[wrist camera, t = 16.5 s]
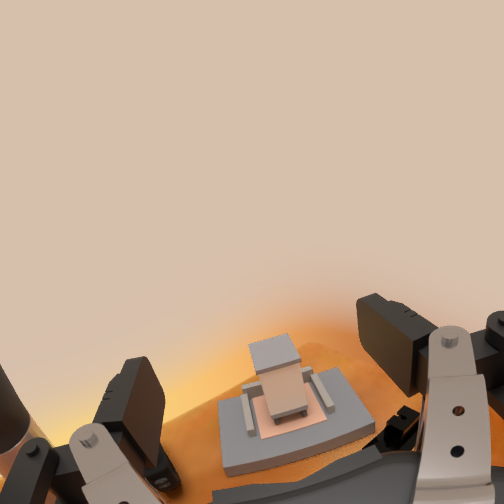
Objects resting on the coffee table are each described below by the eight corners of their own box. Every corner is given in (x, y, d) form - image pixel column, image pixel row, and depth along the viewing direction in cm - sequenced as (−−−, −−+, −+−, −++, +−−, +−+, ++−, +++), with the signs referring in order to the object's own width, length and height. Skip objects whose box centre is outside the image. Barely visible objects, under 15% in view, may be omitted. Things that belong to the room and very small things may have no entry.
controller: (167, 509, 25) (128, 469, 23) (142, 453, 36) (112, 409, 33) (196, 497, 27) (163, 456, 25) (166, 443, 38) (138, 399, 35)
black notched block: (409, 401, 35) (411, 380, 34) (446, 420, 29) (453, 398, 28) (349, 454, 30) (349, 435, 29) (389, 482, 23) (393, 464, 22)
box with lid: (273, 429, 35) (255, 371, 32) (265, 400, 41) (248, 344, 38) (311, 417, 35) (300, 357, 32) (299, 390, 41) (287, 333, 39)
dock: (228, 476, 30) (217, 457, 29) (222, 411, 44) (213, 390, 42) (374, 432, 32) (375, 409, 30) (338, 377, 45) (336, 354, 44)
